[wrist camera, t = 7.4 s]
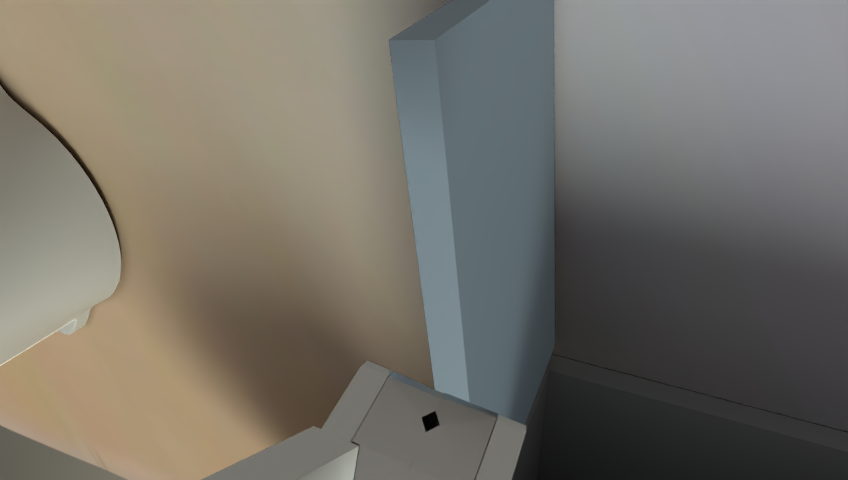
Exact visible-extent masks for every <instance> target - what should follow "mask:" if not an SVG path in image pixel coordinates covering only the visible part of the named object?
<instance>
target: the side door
mask: <svg viewBox="0 0 848 480" xmlns="http://www.w3.org/2000/svg"><path fill="white" fill-rule="evenodd" d="M389 47H390V54H391V62H392V69H393V77H394V84H395V92H396V100H397V107H398V115H399V122H400V130H401V137H402V145H403V152H404V160H405V168H406V175H407V183H408V190H409V198H410V205H411V213H412V221H413V228H414V236H415V243H416V251H417V258H418V266H419V273H420V281H421V289H422V296H423V304H424V311H425V319H426V326H427V334H428V341H429V349H430V357H431V364H432V372H433V379H434V387H435V390H437V391H440V392H442V393H447V394H450V395H452V396H455V397H457V398H460V399H462V400H465V401H467V402H470V403H473V404H475V405H478V406H480V407H483V408H485V409H488V410H490V411H493V412H495V413H498V415H501V416H504V417H506V418H509V419H511V420H513V421H516V422H518V423H521V424H523V425H525V422H526V420H527V417H528V415H529V412H530V409H531V407H532V404H533V402H534V399H535V396H536V394H537V391H538V388H539V386H540V383H541V381H542V378H543V375H544V373H545V370H546V368H547V365H548V362H549V360H550V357H551V355H552V352H553V349H554V347H555V183H554V0H452V1H450V2H449V3H447V4H445V5H444V6H442V7H441V8H439V9H437V10H436V11H434V12H433V13H431V14H429V15H428V16H426V17H425V18H423V19H421V20H420V21H418V22H417V23H415V24H413V25H412V26H410V27H409V28H407V29H405V30H404V31H402V32H401V33H399V34H397V35H396V36H394V37H393V38H391V39H389ZM498 415H497V417H498Z"/></svg>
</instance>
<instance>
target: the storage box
mask: <svg viewBox="0 0 848 480" xmlns="http://www.w3.org/2000/svg"><path fill="white" fill-rule="evenodd" d="M525 425H526V434H525V437H524V441H523V444H522V447H521V451H520V454H519V457H518V460H517V464H516V467H515V470H514V474H513V477H512V480H848V433H847V432H844V431H840V430H836V429H832V428H828V427H825V426H821V425H817V424H813V423H809V422H806V421H802V420H798V419H794V418H791V417H787V416H783V415H779V414H775V413H772V412H768V411H764V410H760V409H756V408H753V407H749V406H745V405H741V404H737V403H734V402H730V401H726V400H722V399H718V398H715V397H711V396H707V395H703V394H699V393H696V392H692V391H688V390H684V389H681V388H677V387H673V386H669V385H665V384H662V383H658V382H654V381H650V380H646V379H643V378H639V377H635V376H631V375H627V374H624V373H620V372H616V371H612V370H608V369H605V368H601V367H597V366H593V365H589V364H586V363H582V362H578V361H574V360H571V359H567V358H563V357H559V356H555V355H551V357H550V360H549V362H548V365H547V368H546V370H545V373H544V375H543V378H542V381H541V383H540V386H539V388H538V391H537V394H536V396H535V399H534V402H533V404H532V407H531V409H530V412H529V415H528V417H527V420H526V422H525Z"/></svg>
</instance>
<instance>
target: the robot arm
mask: <svg viewBox="0 0 848 480" xmlns="http://www.w3.org/2000/svg"><path fill="white" fill-rule="evenodd" d="M120 274H121V254H120V248H119V243H118V239H117V235H116V232H115V229H114V226H113V223H112V221H111V218H110V216H109V213H108V211H107V209H106V207H105V205H104V203H103V201H102V199H101V197H100V195H99V194H98V192H97V190H96V189H95V187H94V185H93V184H92V182H91V181H90V179H89V178H88V176H87V175H86V173H85V172H84V170H83V169H82V168H81V166H80V165H79V164H78V162H77V161H76V160H75V159H74V157H73V156H72V155H71V154H70V153H69V151H68V150H67V149H66V148H65V147H64V146H63V145H62V144H61V142H60V141H59V140H58V139H57V138H56V137H55V136H54V135H53V134H52V133H51V132H50V131H49V130H47V129H46V128H45V127H44V126H43V125H42V124H41V123H40V122H38V121H37V120H36V119H35V118H34V117H32V116H31V115H30V114H29V113H27V112H26V111H25V110H24V109H23V108H21V107H20V106H19V105H18V104H17V103H16V102H15V101H13V100H12V99H11V98H10V97H9V96H8V95H7V93H6V92H5V91H4V89H3V88H2V87H1V85H0V366H1V365H3V364H4V363H6V362H8V361H9V360H11V359H13V358H14V357H16V356H17V355H19V354H21V353H22V352H24V351H25V350H27V349H29V348H30V347H32V346H33V345H35V344H37V343H38V342H40V341H42V340H43V339H45V338H46V337H48V336H50V335H51V334H53V333H54V332H56V331H59V332H61V333H63V334H67V335H68V334H72V333H74V332H75V331H77V330H79V329H80V328H82V327H83V326H85V324H86V322H87V320H88V317H89V313H90V309H91V308H92V307H93V306H95V305H96V304H98V303H100V302H102V301H104V300H106V299H107V298H109V297H110V296H111V295H112V293H113V292H114V291H115V289H116V287H117V285H118V283H119V279H120ZM497 415H498V413H495V412H493V411H490V410H488V409H485V408H483V407H480V406H478V405H475V404H473V403H470V402H467V401H465V400H462V399H460V398H457V397H455V396H452V395H450V394H447V393H442V392H440V391H437V390H435V389H433V388H430V387H428V386H426V385H424V384H421V383H419V382H417V381H415V380H412V379H410V378H408V377H405V376H403V375H401V374H399V373H396V372H394V371H392V370H389V369H387V368H384V367H382V366H380V365H377V364H375V363H373V362H370V361H368V360H367V361H366V362H365V363H363V364H362V365H361V366H360V368H359V369H358V371H357V373H356V374H355V376H354V377H353V379H352V381H351V382H350V384H349V385H348V387H347V389H346V390H345V392H344V393H343V395H342V396H341V398H340V400H339V401H338V403H337V404H336V406H335V408H334V409H333V411H332V412H331V414H330V416H329V417H328V419H327V420H326V422H325V423H324V425H323V427H322V428H321V429H320V428H317V427H315V426H312V427H310V428H308V429H306V430H304V431H302V432H300V433H298V434H296V435H294V436H291V437H289V438H287V439H285V440H283V441H281V442H279V443H277V444H275V445H273V446H271V447H269V448H266V449H264V450H262V451H260V452H258V453H256V454H254V455H252V456H250V457H248V458H246V459H244V460H241V461H239V462H237V463H235V464H233V465H231V466H229V467H227V468H225V469H223V470H221V471H219V472H216V473H214V474H212V475H210V476H208V477H206V478H204V479H202V480H512V477H513V474H514V470H515V467H516V464H517V460H518V457H519V454H520V451H521V447H522V444H523V441H524V437H525V434H526V425H523V424H521V423H518V422H516V421H513V420H511V419H509V418H506V417H504V416H501V415H498V417H497Z"/></svg>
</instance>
